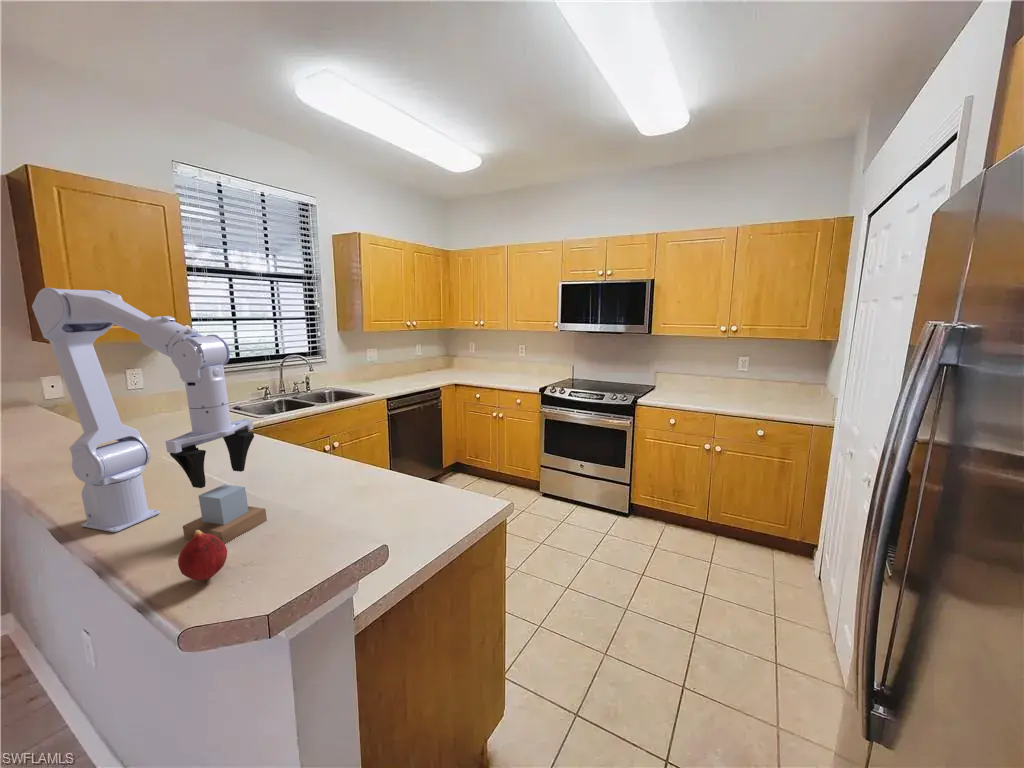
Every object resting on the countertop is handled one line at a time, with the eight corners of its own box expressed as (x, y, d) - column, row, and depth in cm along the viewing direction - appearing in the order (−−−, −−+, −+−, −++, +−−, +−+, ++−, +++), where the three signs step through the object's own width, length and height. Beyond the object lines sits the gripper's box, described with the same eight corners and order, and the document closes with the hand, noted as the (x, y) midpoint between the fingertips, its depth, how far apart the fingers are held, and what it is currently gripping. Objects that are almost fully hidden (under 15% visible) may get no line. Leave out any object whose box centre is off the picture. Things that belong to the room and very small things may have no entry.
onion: (238, 567, 66) (231, 520, 65) (214, 591, 60) (205, 540, 59) (200, 569, 66) (192, 521, 65) (172, 593, 60) (163, 541, 59)
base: (185, 541, 75) (182, 526, 75) (231, 517, 84) (229, 503, 83) (223, 548, 73) (221, 532, 72) (267, 523, 81) (265, 508, 81)
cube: (202, 521, 76) (198, 495, 75) (228, 509, 81) (224, 484, 80) (224, 525, 75) (219, 498, 74) (248, 511, 79) (244, 486, 78)
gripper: (183, 416, 66) (196, 497, 69) (261, 397, 80) (270, 466, 82) (151, 414, 68) (165, 493, 71) (233, 396, 82) (242, 463, 84)
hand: (219, 478), depth 76 cm, fingers open, 7 cm apart
